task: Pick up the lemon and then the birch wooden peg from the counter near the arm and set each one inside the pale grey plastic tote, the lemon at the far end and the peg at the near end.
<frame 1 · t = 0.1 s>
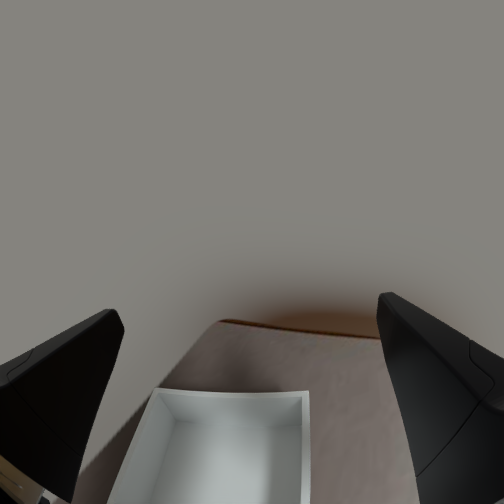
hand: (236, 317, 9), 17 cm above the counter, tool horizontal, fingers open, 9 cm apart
tote: (224, 503, 14), on the counter
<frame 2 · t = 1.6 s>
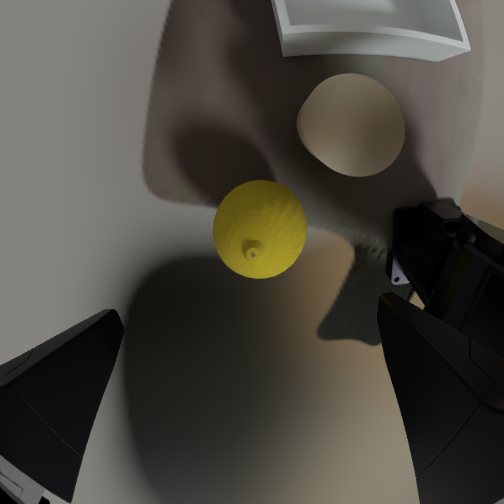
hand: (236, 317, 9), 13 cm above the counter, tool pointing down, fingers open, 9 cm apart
lemon: (265, 208, 21), on the counter
birch peg: (331, 126, 17), on the counter
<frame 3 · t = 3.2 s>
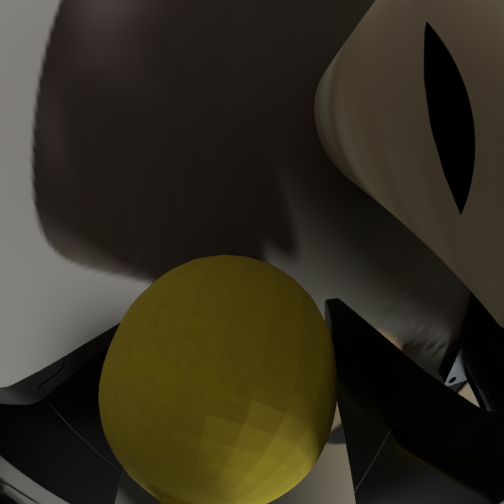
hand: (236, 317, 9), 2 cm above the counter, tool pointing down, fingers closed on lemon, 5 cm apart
lemon: (243, 287, 10), on the counter, touching gripper
birch peg: (391, 118, 7), on the counter
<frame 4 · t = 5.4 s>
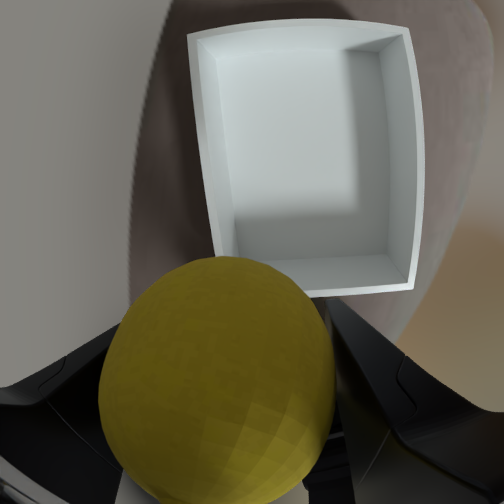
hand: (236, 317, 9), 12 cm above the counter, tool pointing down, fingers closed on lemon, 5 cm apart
tote: (310, 154, 18), on the counter
lemon: (242, 288, 10), point 11 cm above the counter, touching gripper
when the fingers open (4 cm above the counter, at t = 7.6 s): lemon drops 2 cm, resting on tote.
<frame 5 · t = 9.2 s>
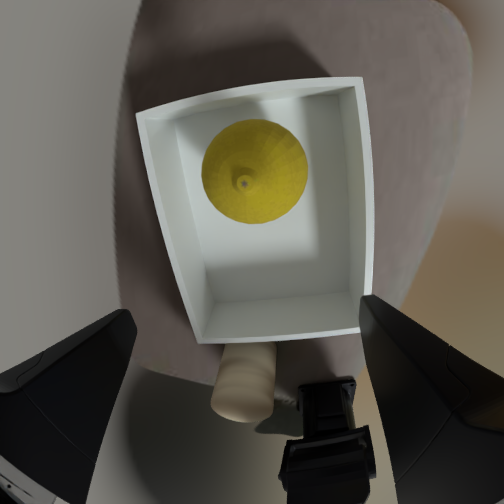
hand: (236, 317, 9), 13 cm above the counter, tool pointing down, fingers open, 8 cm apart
tote: (269, 207, 20), on the counter
lemon: (262, 161, 18), resting on tote
birch peg: (250, 348, 26), on the counter
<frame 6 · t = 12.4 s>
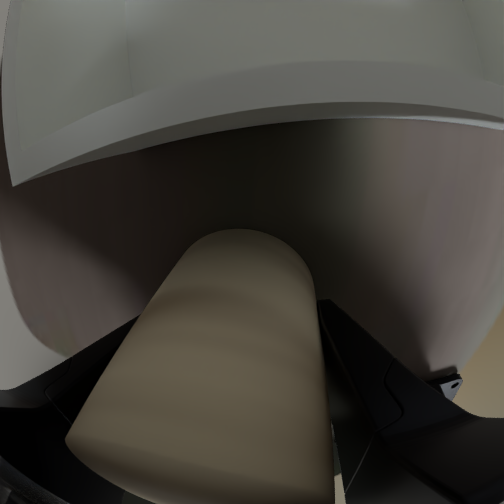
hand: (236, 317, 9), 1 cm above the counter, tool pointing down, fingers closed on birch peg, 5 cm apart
birch peg: (242, 296, 10), on the counter, touching gripper
when the fingers open (3 cm above the counter, at t = 16.2 s): birch peg drops 1 cm, resting on tote.
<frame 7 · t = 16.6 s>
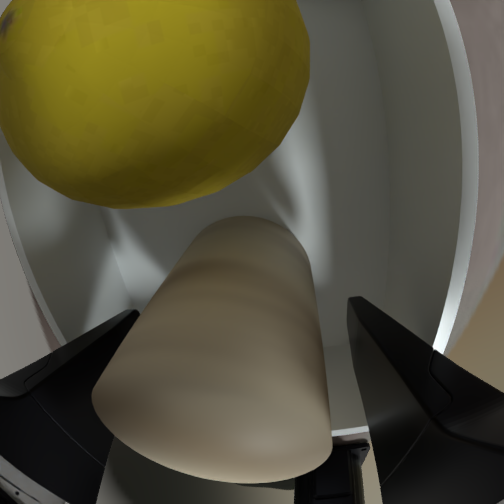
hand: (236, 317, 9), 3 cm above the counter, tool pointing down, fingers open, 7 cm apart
tote: (233, 185, 10), on the counter
lemon: (215, 94, 8), resting on tote
birch peg: (246, 278, 11), point 1 cm above the counter, touching tote
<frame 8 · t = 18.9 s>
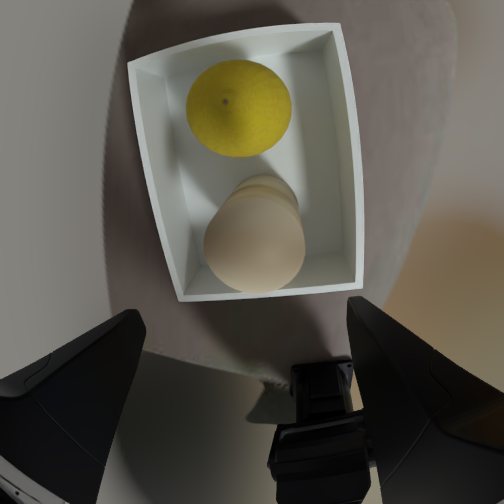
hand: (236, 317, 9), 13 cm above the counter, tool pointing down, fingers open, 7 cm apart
tote: (256, 160, 19), on the counter
lemon: (248, 113, 17), resting on tote
birch peg: (263, 209, 20), point 1 cm above the counter, touching tote
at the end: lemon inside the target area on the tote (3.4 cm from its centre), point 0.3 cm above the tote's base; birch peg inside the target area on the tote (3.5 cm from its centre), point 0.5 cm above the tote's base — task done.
